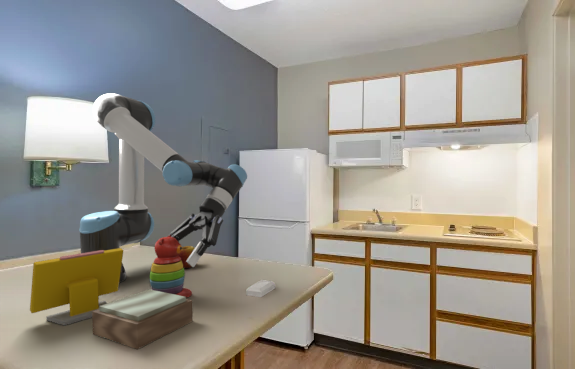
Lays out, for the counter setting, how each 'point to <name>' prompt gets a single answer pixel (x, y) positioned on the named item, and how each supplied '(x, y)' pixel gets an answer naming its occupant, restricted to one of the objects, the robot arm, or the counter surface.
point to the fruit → (186, 255)
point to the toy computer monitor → (75, 283)
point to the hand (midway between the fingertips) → (175, 261)
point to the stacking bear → (168, 268)
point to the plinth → (142, 317)
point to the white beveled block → (260, 288)
